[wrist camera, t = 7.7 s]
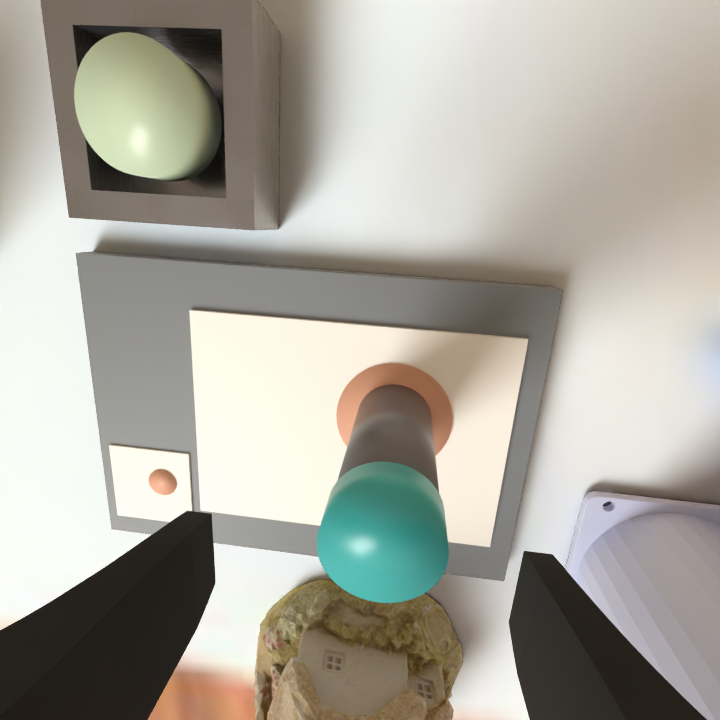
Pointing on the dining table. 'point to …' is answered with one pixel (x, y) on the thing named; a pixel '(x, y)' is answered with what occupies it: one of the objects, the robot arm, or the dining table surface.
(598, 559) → the robot arm
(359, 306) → the drawing board
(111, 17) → the button housing
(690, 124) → the dining table surface
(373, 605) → the ceramic model
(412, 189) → the dining table surface
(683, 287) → the dining table surface
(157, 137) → the button
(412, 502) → the marker
